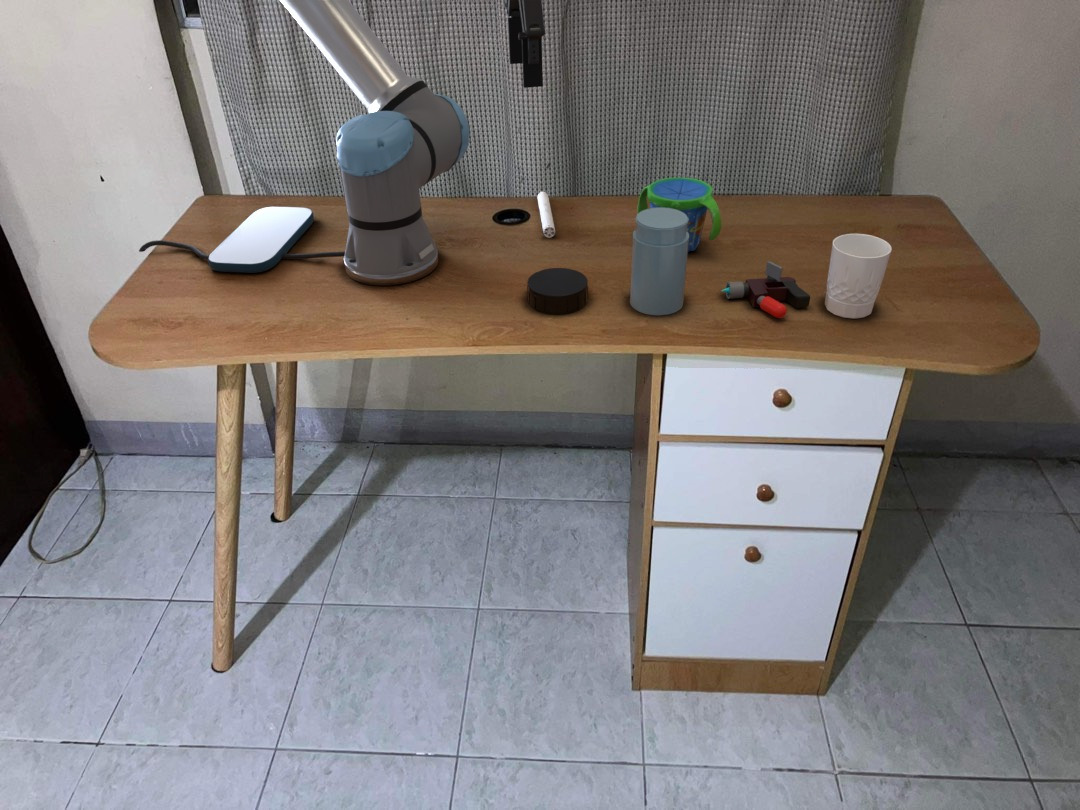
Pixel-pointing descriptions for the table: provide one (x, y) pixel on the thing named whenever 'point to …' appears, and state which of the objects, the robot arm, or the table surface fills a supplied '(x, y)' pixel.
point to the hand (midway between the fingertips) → (525, 74)
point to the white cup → (855, 274)
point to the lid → (557, 291)
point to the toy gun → (770, 291)
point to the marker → (546, 215)
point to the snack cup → (684, 204)
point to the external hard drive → (261, 240)
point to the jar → (659, 261)
